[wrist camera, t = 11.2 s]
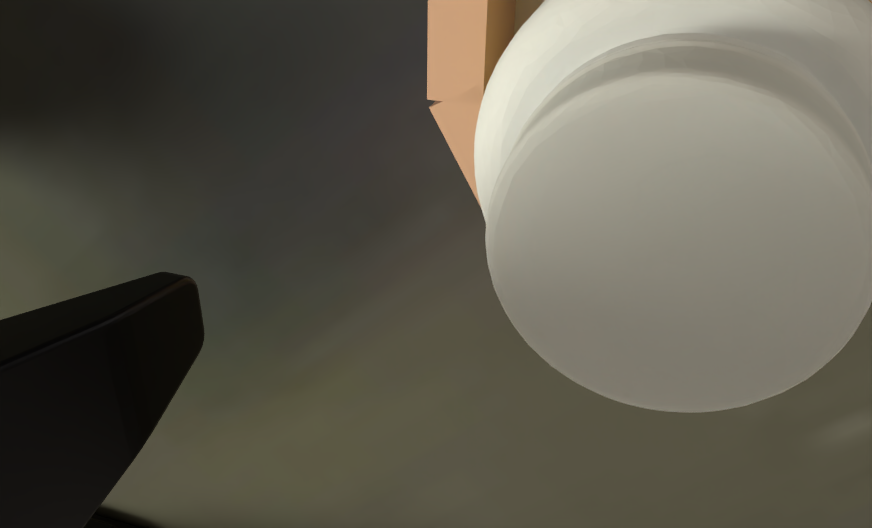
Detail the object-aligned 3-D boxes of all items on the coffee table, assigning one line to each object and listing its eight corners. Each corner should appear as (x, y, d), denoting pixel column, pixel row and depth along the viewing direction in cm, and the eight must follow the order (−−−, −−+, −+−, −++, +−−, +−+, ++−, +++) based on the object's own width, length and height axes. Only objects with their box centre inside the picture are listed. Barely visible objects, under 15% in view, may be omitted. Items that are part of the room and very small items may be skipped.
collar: (913, 291, 19) (945, 380, 16) (446, 216, 22) (401, 279, 19) (1138, -311, 13) (1253, -345, 10) (457, -298, 16) (396, -322, 13)
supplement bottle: (686, 206, 18) (639, 537, 10) (519, 31, 18) (318, 230, 9) (917, 37, 15) (1130, 312, 7) (726, -183, 15) (705, -173, 6)
